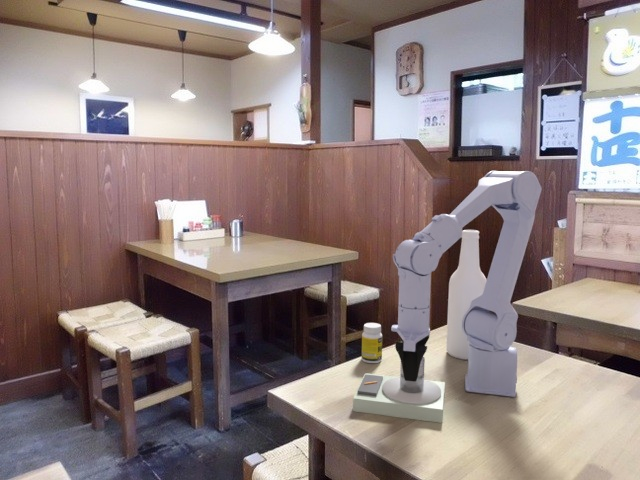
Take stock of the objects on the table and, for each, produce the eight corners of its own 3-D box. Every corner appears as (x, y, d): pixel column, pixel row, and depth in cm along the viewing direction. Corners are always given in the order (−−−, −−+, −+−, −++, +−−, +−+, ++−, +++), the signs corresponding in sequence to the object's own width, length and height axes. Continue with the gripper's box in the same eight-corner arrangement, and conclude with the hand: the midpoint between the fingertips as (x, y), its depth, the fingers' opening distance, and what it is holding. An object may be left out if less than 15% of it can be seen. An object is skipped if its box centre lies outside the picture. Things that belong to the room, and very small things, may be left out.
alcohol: (483, 349, 126) (489, 229, 122) (484, 362, 118) (491, 233, 114) (446, 346, 129) (451, 227, 124) (445, 358, 120) (450, 232, 116)
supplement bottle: (380, 364, 116) (381, 329, 115) (360, 363, 117) (360, 327, 116) (382, 357, 121) (383, 322, 120) (362, 355, 122) (363, 321, 121)
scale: (444, 394, 101) (445, 378, 101) (442, 422, 90) (442, 405, 89) (364, 384, 106) (365, 369, 105) (352, 411, 94) (353, 394, 94)
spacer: (424, 384, 98) (425, 354, 97) (422, 394, 94) (423, 363, 93) (401, 381, 99) (402, 352, 99) (398, 391, 95) (399, 360, 94)
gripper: (397, 294, 102) (395, 359, 104) (386, 314, 89) (385, 388, 91) (433, 296, 101) (430, 362, 103) (428, 317, 87) (425, 393, 89)
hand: (411, 375), depth 96 cm, fingers closed on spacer, 4 cm apart
